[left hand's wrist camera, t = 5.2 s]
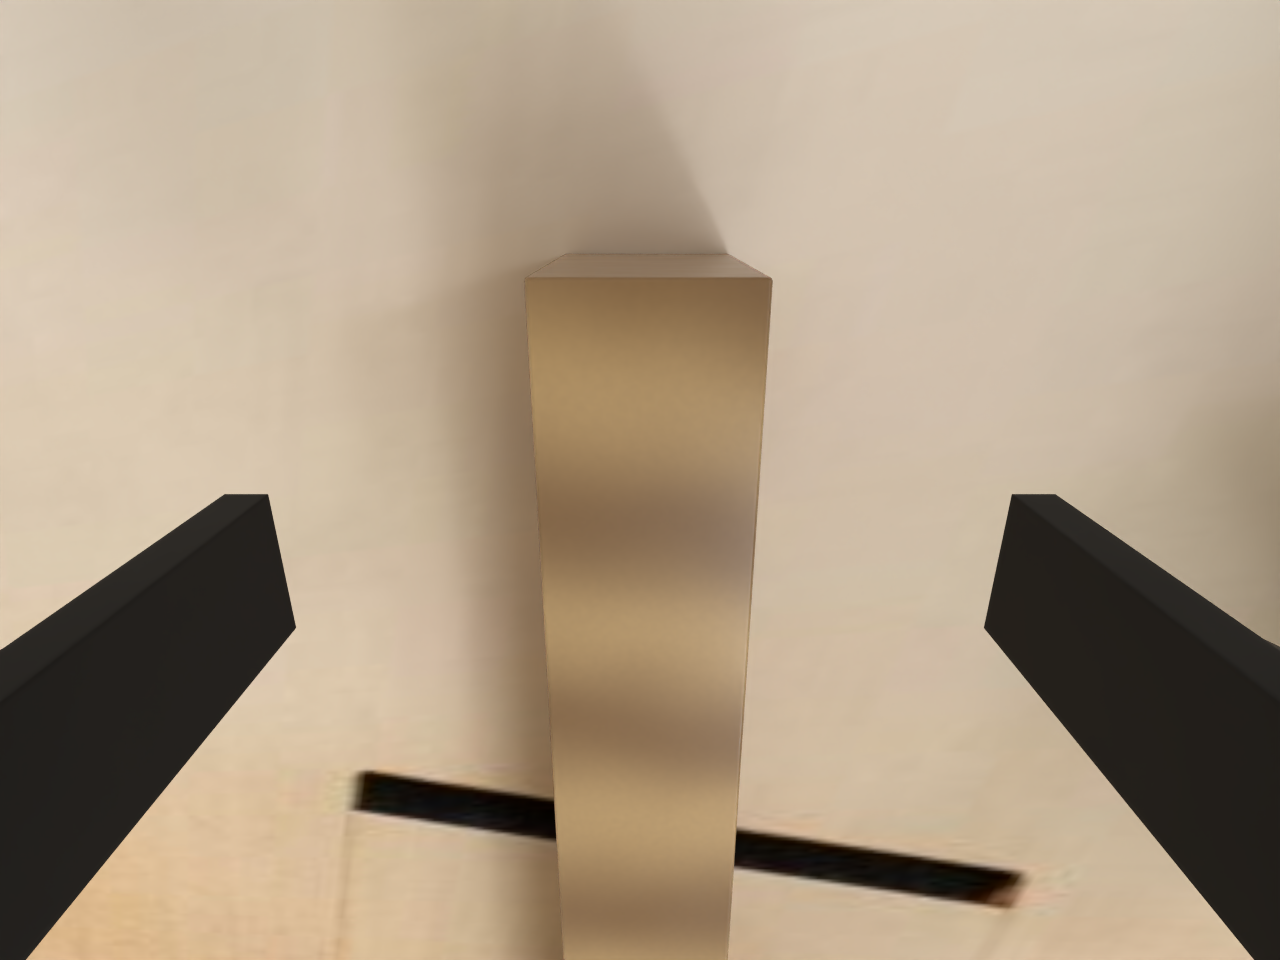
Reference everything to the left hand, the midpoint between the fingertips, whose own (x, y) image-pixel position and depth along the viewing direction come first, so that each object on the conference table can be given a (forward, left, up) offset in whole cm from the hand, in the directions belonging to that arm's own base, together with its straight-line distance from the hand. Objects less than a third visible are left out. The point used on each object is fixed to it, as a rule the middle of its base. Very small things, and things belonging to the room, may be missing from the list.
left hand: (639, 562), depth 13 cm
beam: (+19, +22, -13) cm, 32 cm away
